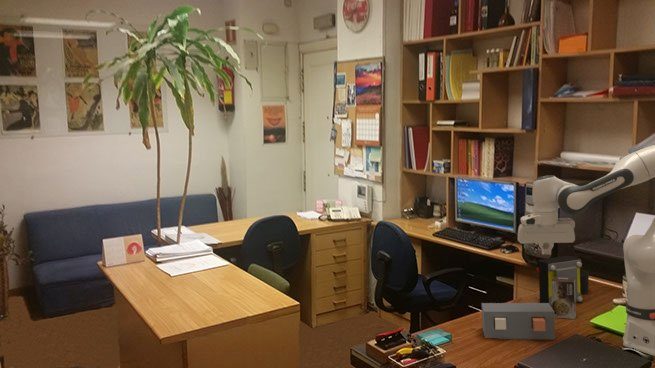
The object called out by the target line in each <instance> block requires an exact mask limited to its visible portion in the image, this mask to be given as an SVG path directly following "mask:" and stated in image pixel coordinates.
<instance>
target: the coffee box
mask: <svg viewBox="0 0 655 368" xmlns="http://www.w3.org/2000/svg"><path fill="white" fill-rule="evenodd" d="M551 285H552V309H553V310H554V317H555V318H559V319H571V320H575V319H576V318H577V311H576V309H577V305H576V303H577V302H576V301H575V278H562V277H553V278H552V281H551Z"/></svg>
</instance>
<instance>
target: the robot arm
mask: <svg viewBox="0 0 655 368" xmlns="http://www.w3.org/2000/svg"><path fill="white" fill-rule="evenodd" d="M654 178H655V144H653V145H649V146H646V147H644V148H641V149H639V150H636V151H633V152H630V153H629V154H627V155H625V156H623V157H622V158H620V159H619V160H617V161H616V162H615V164H614V167H613V168H612V169H611V171H610V172H609V173H607V174H606V175H604V176H602V177H600V178H597V179H596V180H594V181H592V182H589V183H587V184H585V185H577V184H576V183H575V184H574V183H572V182H568V181H564V180H562V179H559V178H558V177H556V176H555V175H552V174H551V175H550V174H548V175H543V176H538V177H536V179H534V181H533V182H532V193H531V194H532V202H533V207H532V213H529V214H527V215H524V216H521V217H520V222H521V223H520V224H519V226H518V229H517V242H519V243H520V244H523V245H524V244H525V245H526V244H538V246H539V248H540V249H541V254H542V255H543V256H545V255H550V256H551V255H552V249H553V248H554V245H555V244H560V243H561V244H562V243H563V244H566V243H567V244H568V243H574V242H575V241H576V234H575V227H576V222H575V220H574V219H573V218H571V217H559V209H560V210H561V211H563V212H564V213H566V214H568V215H573V216H574V215H580V214H582V213H584V212H585V211H586V210H587V209H588V208H589V207H590V206H591V205H592V204H593V203H595V202H596V201H598V200H600V199H602V198H605V197H607V196H609V195H611V194H614V193H616V192H617V191H619V190H622V189H625V188H629V187H631V186H636V185H639V184H642V183H644V182H647V181H649V180H651V179H654ZM544 244H548V245H549V246H548V248H544V247H543V246H544ZM622 249H623V260H624V268H625V277H626V296H627V302H626V303H625V313H626V314H627V315H626V322H625V329H624V334H623V337H622V341H623V343H622V344H623V345H622V346H623V347H625V348H629V349H632V348H634V349H633V350H635V349H636V350H635V351H638V352H642V353H643V354H644V353H645V354H648V355H651V356H653V357H655V217H654V218H653V219H652V222H651V224H650V226H649V227H648V229H647V230H646V232H645V233H644V234H643V235H642V234H634V235H633V234H632V235H630V236H628V237H627V238H626V239H625V240H624V242H623V246H622Z"/></svg>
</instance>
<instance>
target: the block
mask: <svg viewBox="0 0 655 368" xmlns="http://www.w3.org/2000/svg"><path fill="white" fill-rule="evenodd" d="M494 317H505V318H506V330H500V329H495V326H494ZM531 317H543V318H544V320H545V331H534V329H533V327H532V321H531ZM555 318H556V317H554V310H553V309H552V307H551V306H550V304H549V303H540V302H500V303H499V302H497V303H496V302H489V303H488V302H486V303H485V302H481V322H482V323H481V324H482V325H481V327H482V328H483V329H482V333H483V332H484V333H483V337H484V336H485V337H487V338H488V337H490V338H498V339H497V340H556V326H555V324H556V323H555V320H556V319H555ZM485 337H484V338H485Z"/></svg>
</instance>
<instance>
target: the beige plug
mask: <svg viewBox="0 0 655 368" xmlns="http://www.w3.org/2000/svg"><path fill="white" fill-rule="evenodd" d="M494 326H495V329H500V330H506V318H505V317H494Z"/></svg>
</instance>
